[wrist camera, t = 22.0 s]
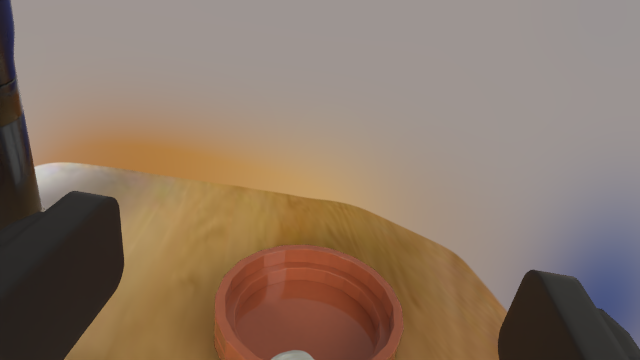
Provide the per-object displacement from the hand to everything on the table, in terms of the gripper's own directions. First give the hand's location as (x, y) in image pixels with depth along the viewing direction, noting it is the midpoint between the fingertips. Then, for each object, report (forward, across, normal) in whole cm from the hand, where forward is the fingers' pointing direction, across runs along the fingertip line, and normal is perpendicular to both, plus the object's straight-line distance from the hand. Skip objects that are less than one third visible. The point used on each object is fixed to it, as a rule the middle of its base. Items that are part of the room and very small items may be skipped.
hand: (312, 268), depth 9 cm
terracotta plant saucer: (+21, 0, +24) cm, 32 cm away
